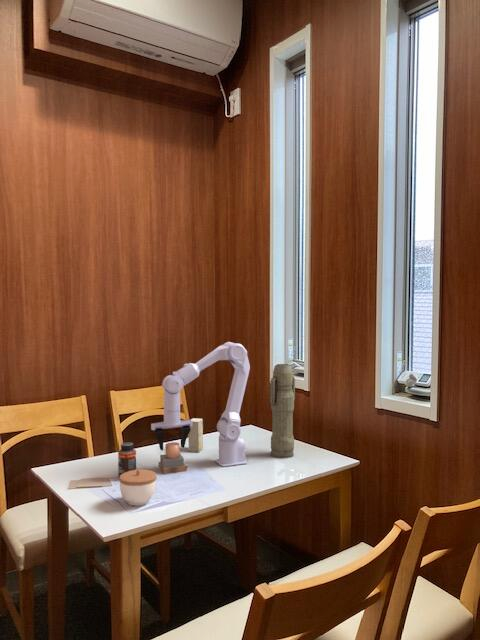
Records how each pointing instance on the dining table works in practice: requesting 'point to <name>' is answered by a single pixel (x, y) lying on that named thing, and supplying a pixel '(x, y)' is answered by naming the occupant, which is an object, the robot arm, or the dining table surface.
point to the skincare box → (196, 435)
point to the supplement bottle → (126, 458)
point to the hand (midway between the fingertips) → (172, 448)
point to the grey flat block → (171, 461)
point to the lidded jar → (138, 486)
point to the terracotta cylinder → (172, 450)
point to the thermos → (282, 411)
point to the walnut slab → (173, 469)
